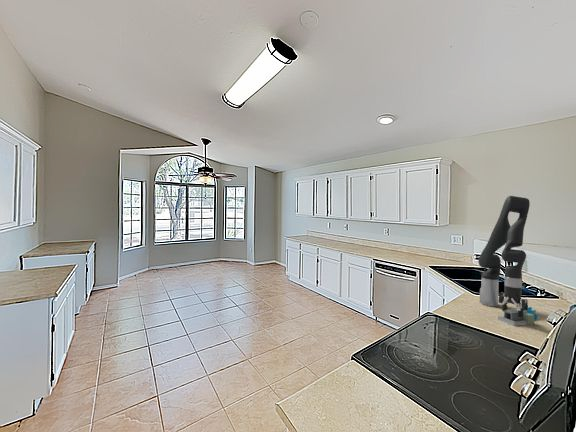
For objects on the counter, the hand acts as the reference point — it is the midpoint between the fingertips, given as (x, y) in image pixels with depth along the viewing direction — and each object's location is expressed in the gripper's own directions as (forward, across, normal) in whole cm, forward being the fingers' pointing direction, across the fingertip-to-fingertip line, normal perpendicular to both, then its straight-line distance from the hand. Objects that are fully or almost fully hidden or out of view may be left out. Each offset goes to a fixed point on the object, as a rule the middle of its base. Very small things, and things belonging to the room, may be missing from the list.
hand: (512, 314), depth 156 cm
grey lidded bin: (+3, 0, 0) cm, 3 cm away
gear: (+4, +3, -16) cm, 16 cm away
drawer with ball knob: (+4, 0, -2) cm, 5 cm away
